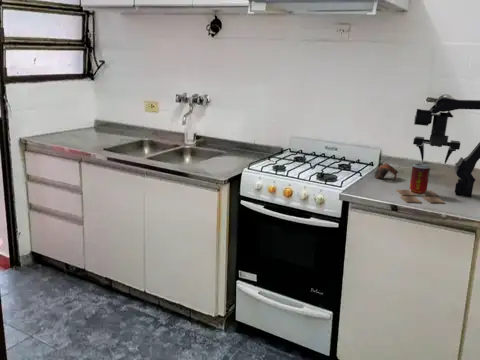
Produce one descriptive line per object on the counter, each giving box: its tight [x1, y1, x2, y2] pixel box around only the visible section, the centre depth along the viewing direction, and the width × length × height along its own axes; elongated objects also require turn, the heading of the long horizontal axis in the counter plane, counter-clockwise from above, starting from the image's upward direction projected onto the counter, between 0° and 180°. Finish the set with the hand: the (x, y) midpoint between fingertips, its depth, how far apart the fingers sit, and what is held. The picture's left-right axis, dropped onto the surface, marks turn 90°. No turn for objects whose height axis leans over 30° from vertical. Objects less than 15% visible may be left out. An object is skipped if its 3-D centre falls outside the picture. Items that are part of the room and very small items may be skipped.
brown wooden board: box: [395, 189, 440, 198], centre depth 217 cm, size 16×7×1 cm, turn 95°
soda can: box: [409, 163, 431, 194], centre depth 216 cm, size 7×7×12 cm
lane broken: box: [399, 195, 446, 205], centre depth 208 cm, size 16×7×1 cm, turn 95°
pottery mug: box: [374, 162, 399, 181], centre depth 239 cm, size 12×10×8 cm
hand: (433, 162), depth 219 cm, fingers open, 9 cm apart
